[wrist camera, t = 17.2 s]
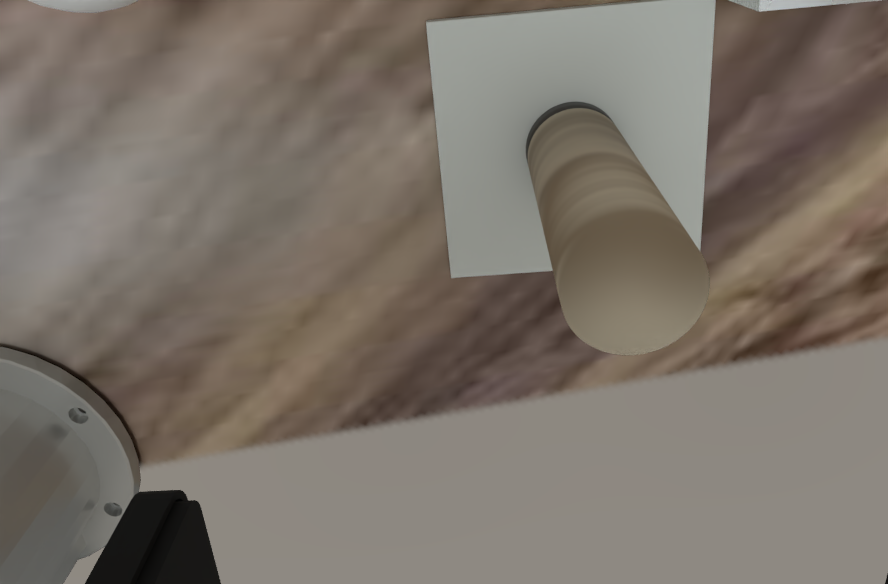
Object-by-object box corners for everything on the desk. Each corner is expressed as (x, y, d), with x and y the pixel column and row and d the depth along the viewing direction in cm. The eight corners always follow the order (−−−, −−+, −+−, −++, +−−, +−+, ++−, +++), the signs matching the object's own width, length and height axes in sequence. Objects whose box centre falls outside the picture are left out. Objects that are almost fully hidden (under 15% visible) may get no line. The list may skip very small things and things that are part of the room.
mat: (695, 254, 31) (699, 260, 31) (451, 271, 32) (451, 277, 32) (711, -7, 27) (715, -5, 26) (426, 20, 28) (426, 22, 27)
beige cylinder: (619, 188, 30) (705, 350, 19) (527, 195, 30) (561, 360, 19) (619, 97, 28) (714, 217, 17) (523, 105, 28) (558, 229, 18)
